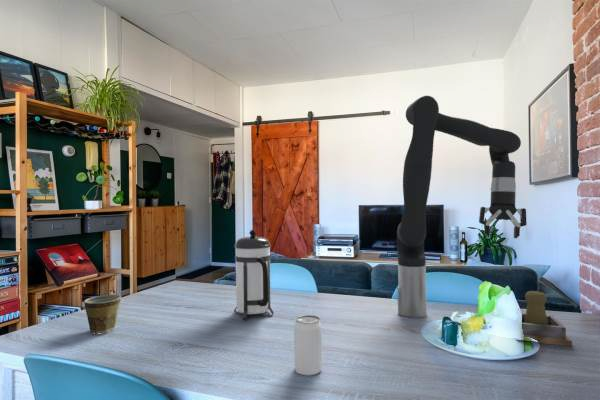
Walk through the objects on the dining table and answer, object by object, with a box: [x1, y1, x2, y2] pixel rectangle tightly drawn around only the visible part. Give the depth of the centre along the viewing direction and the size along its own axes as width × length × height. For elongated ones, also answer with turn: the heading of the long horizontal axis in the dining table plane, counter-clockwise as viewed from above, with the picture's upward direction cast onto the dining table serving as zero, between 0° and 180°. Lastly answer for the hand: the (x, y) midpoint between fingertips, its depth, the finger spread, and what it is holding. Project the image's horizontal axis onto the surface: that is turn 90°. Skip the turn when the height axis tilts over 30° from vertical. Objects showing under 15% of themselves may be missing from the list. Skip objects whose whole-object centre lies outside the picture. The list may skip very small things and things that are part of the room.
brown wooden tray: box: [521, 312, 573, 347], centre depth 103 cm, size 13×13×4 cm
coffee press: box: [233, 229, 275, 321], centre depth 125 cm, size 17×16×30 cm
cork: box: [524, 290, 548, 325], centre depth 103 cm, size 6×6×11 cm
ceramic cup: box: [83, 294, 121, 335], centre depth 112 cm, size 13×10×10 cm
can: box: [293, 314, 323, 377], centre depth 83 cm, size 6×6×12 cm
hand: (501, 237), depth 123 cm, fingers open, 8 cm apart
